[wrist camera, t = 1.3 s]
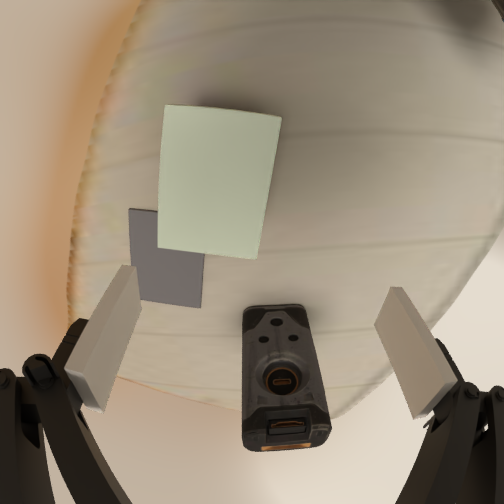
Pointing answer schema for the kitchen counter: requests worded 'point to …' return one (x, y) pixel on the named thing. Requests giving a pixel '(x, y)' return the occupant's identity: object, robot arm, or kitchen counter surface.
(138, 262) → the mat
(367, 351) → the kitchen counter surface
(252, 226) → the block
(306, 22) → the kitchen counter surface
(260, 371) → the electronic device
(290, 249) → the kitchen counter surface
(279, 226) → the kitchen counter surface
